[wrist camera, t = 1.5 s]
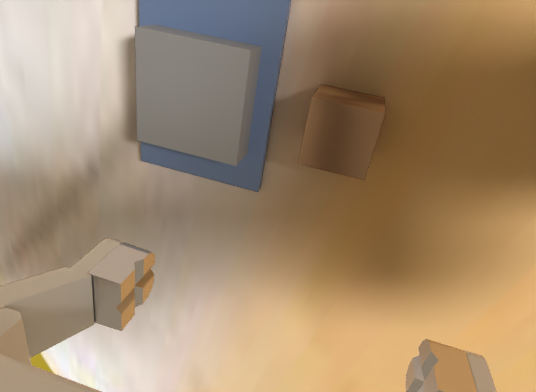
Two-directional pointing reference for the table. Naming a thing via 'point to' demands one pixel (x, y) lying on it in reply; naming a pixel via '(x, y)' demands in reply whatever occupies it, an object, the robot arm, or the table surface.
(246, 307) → the table surface
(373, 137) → the walnut cube
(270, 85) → the base
